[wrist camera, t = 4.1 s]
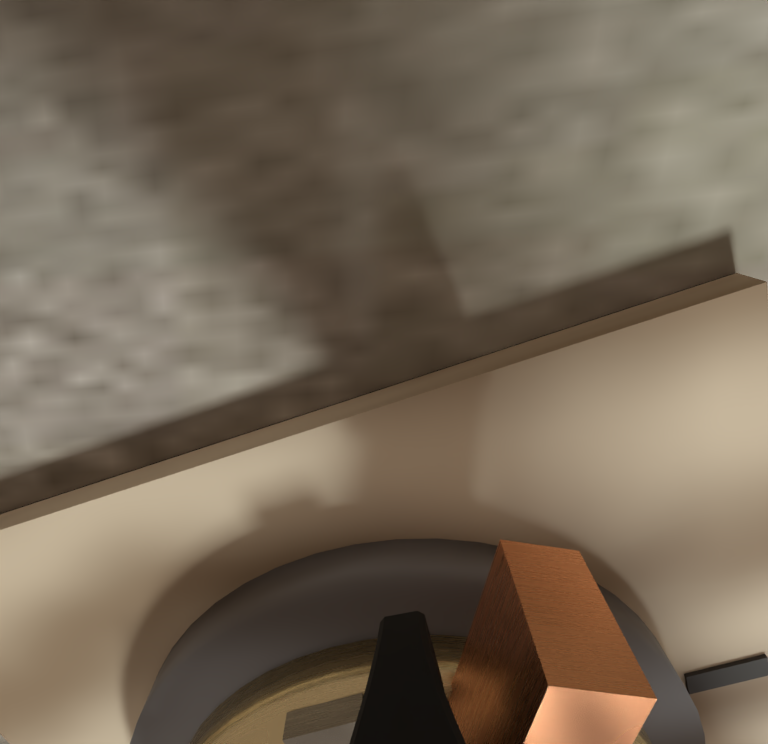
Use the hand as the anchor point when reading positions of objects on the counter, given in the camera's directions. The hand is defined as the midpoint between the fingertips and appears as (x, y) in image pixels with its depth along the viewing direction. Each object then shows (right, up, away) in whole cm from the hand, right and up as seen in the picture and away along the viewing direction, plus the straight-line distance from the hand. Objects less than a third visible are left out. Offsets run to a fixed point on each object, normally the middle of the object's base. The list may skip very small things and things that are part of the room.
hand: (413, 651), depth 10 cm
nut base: (0, -7, +8) cm, 10 cm away
